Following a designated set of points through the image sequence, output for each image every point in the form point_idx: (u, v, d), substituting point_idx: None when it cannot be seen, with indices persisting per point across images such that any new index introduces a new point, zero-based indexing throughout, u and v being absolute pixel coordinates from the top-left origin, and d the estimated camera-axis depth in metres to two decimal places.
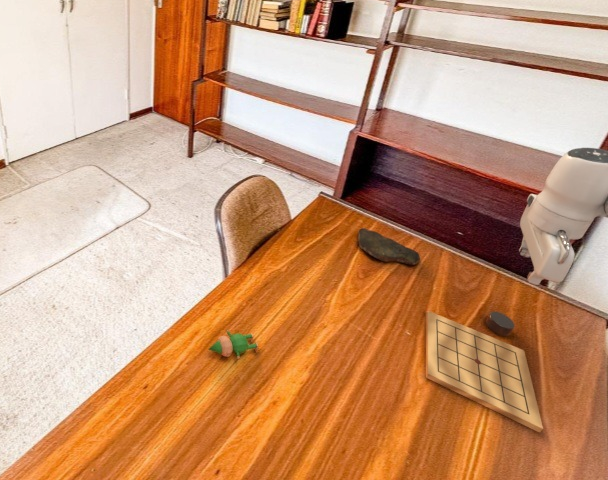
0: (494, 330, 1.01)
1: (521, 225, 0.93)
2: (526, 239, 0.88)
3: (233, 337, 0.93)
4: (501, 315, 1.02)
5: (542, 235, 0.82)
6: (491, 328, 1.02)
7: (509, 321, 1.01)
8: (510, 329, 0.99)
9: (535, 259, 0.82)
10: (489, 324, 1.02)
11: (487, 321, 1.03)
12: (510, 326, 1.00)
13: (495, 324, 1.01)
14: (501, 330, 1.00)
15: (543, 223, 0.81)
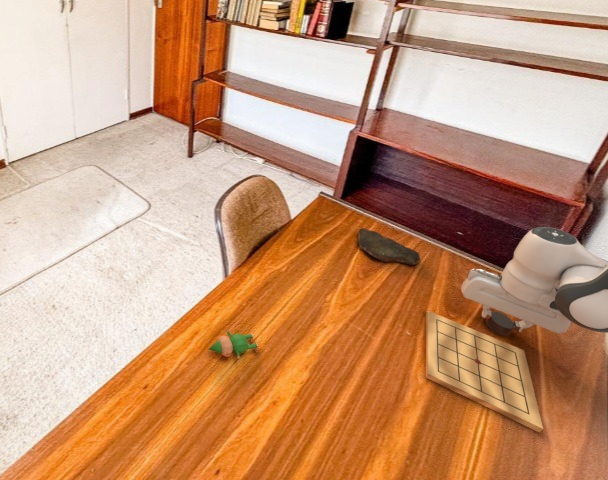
0: (494, 330, 1.01)
1: None
2: None
3: (233, 337, 0.93)
4: (501, 315, 1.02)
5: None
6: (491, 328, 1.02)
7: (509, 321, 1.01)
8: (510, 329, 0.99)
9: None
10: (489, 324, 1.02)
11: (487, 321, 1.03)
12: (510, 326, 1.00)
13: (494, 324, 1.01)
14: (501, 330, 1.00)
15: None
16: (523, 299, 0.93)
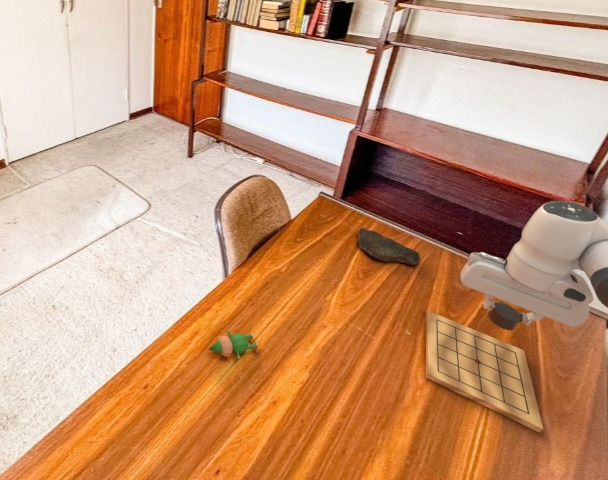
0: (497, 323, 0.87)
1: None
2: None
3: (233, 337, 0.93)
4: (506, 306, 0.89)
5: None
6: (494, 321, 0.88)
7: (515, 313, 0.87)
8: (516, 322, 0.86)
9: None
10: (492, 316, 0.89)
11: (489, 313, 0.89)
12: (516, 319, 0.86)
13: (498, 316, 0.87)
14: (506, 323, 0.86)
15: None
16: (532, 286, 0.79)
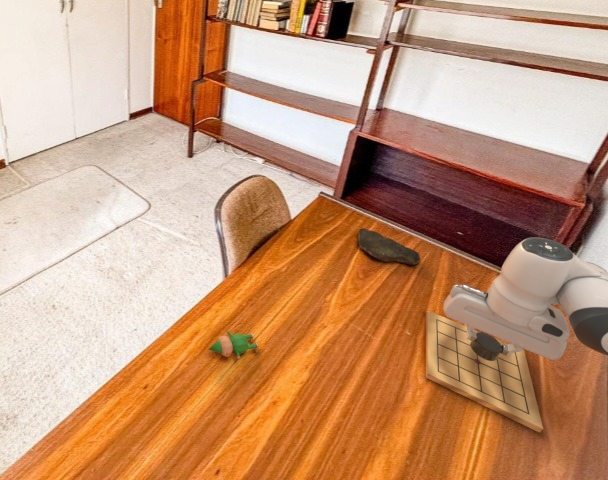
0: (479, 354, 0.89)
1: None
2: None
3: (233, 337, 0.93)
4: (487, 336, 0.91)
5: None
6: (476, 351, 0.90)
7: (496, 344, 0.89)
8: (497, 353, 0.88)
9: None
10: (474, 346, 0.90)
11: (472, 343, 0.91)
12: (497, 350, 0.88)
13: (480, 347, 0.89)
14: (487, 354, 0.88)
15: None
16: (512, 321, 0.81)
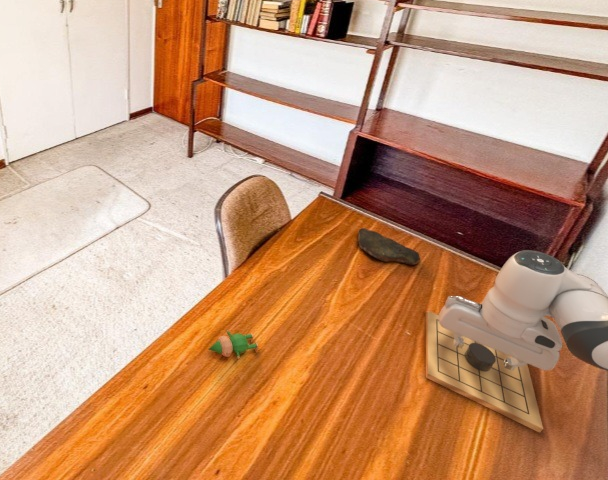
0: (473, 364, 0.91)
1: None
2: None
3: (233, 337, 0.93)
4: (481, 347, 0.92)
5: None
6: (470, 362, 0.92)
7: (490, 354, 0.91)
8: (490, 364, 0.89)
9: None
10: (468, 357, 0.92)
11: (466, 354, 0.93)
12: (490, 360, 0.89)
13: (474, 358, 0.91)
14: (481, 365, 0.90)
15: None
16: (505, 332, 0.83)
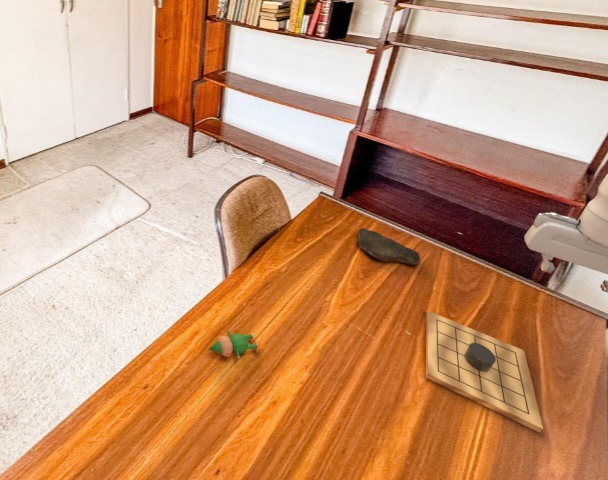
0: (473, 364, 0.91)
1: None
2: None
3: (233, 337, 0.93)
4: (481, 347, 0.92)
5: None
6: (470, 362, 0.92)
7: (490, 354, 0.91)
8: (490, 364, 0.89)
9: None
10: (468, 357, 0.92)
11: (466, 354, 0.93)
12: (490, 360, 0.89)
13: (474, 358, 0.91)
14: (481, 365, 0.90)
15: None
16: None
